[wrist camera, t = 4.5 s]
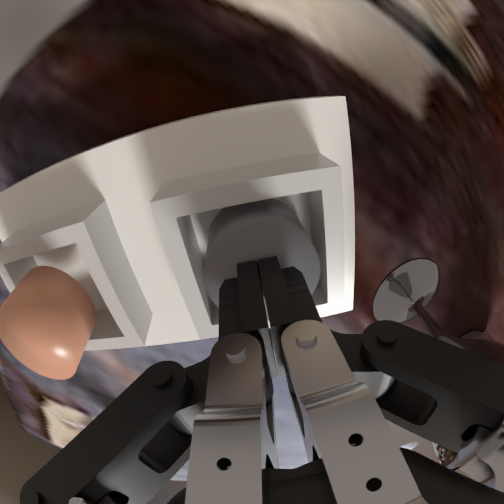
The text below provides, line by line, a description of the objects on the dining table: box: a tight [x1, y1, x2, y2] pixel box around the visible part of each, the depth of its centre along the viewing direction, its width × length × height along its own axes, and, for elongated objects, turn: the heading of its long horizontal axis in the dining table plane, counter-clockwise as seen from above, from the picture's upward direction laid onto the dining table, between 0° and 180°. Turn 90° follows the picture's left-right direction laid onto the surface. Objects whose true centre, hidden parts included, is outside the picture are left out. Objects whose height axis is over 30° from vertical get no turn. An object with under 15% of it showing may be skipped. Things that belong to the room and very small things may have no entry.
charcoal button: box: [204, 198, 320, 321], centre depth 12 cm, size 4×4×3 cm
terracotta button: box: [0, 266, 96, 380], centre depth 10 cm, size 4×4×3 cm
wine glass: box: [372, 259, 504, 471], centre depth 15 cm, size 8×8×15 cm
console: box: [0, 96, 355, 351], centre depth 15 cm, size 20×12×6 cm, turn 100°
